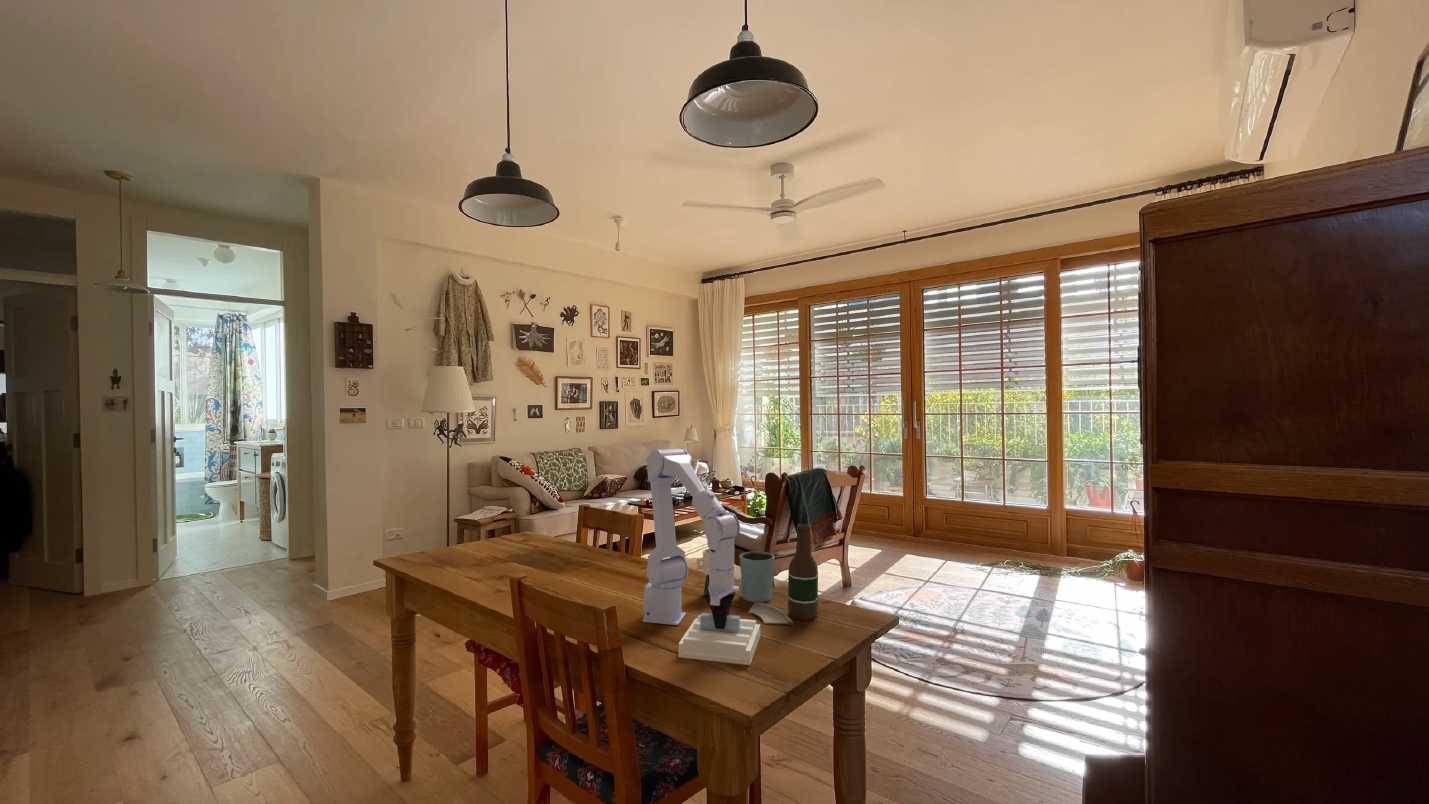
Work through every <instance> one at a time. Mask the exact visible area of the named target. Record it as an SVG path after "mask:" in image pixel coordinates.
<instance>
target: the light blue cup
mask: <svg viewBox="0 0 1429 804" xmlns="http://www.w3.org/2000/svg"><path fill="white" fill-rule="evenodd" d="M739 566H740V575H741V578H740V580H741V597H742V599H743V600H745V601H748V602H751V603H765V602H770V601H771V599H772V598H773V580H774V579H773V576H774V567H775V555H774V554H773V553H770V552H767V551H765V552H764V551H747V552H742V553H741V554H739Z"/></svg>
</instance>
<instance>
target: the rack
mask: <svg viewBox="0 0 1429 804" xmlns="http://www.w3.org/2000/svg"><path fill="white" fill-rule="evenodd" d="M700 616H701V614H699V615H698V616H697V617H695V619H694V620H693V621H692V623H691V625H690V626H689V627H688V629H687V630H686V632H685V633H684V635H683V636H682V638H681V640H680V641H678V650H677V651H678V658H683V659H691V660H701V661H710V662H719V663H726V664H728V663H729V664H737V665H747V666H751V664H752V661H753V659H754V656H755V652H756V651H757V647H758V644H759V641H760V639H761V624H759V623H757V620H755V619H746V618H740V634H735V633H725V632H715V631H705V630H700Z"/></svg>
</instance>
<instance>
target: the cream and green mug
mask: <svg viewBox="0 0 1429 804" xmlns="http://www.w3.org/2000/svg"><path fill="white" fill-rule="evenodd" d="M709 551H710V548H708V547H707V548H705V549H704V550H702V557H697V558H696V569H697V570H702V572H703V573H704V574H705V582H704V588H703V589H704V590H703V594H704V595H705V596H707V597H708V596H710V593H709V590H708V586H709ZM701 562H702V565H700V564H701Z"/></svg>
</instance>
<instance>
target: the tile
mask: <svg viewBox="0 0 1429 804" xmlns="http://www.w3.org/2000/svg"><path fill="white" fill-rule="evenodd" d="M700 615H701V616H700V630H705V631H715V632H725V633H735V634H740V619H741V615H733V614H729V615H727V620H726V625H725V628H724V629H716V628H715V624H714V619H713V615H712V612H711V613H710V612H709V613H707V612H702V613H701V614H700Z"/></svg>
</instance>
